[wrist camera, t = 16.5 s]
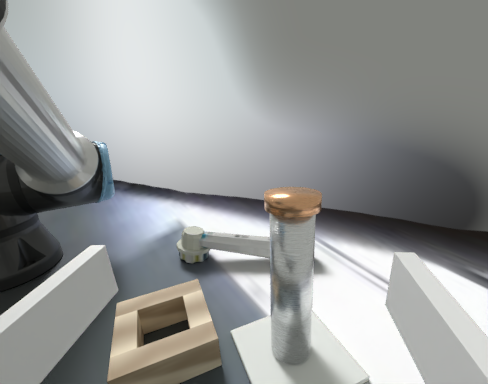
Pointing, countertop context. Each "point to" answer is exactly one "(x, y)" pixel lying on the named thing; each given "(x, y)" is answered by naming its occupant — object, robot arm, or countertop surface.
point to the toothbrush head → (219, 244)
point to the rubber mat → (301, 375)
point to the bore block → (167, 349)
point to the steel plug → (292, 269)
